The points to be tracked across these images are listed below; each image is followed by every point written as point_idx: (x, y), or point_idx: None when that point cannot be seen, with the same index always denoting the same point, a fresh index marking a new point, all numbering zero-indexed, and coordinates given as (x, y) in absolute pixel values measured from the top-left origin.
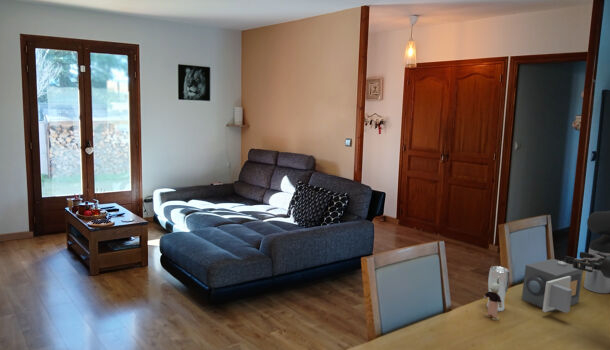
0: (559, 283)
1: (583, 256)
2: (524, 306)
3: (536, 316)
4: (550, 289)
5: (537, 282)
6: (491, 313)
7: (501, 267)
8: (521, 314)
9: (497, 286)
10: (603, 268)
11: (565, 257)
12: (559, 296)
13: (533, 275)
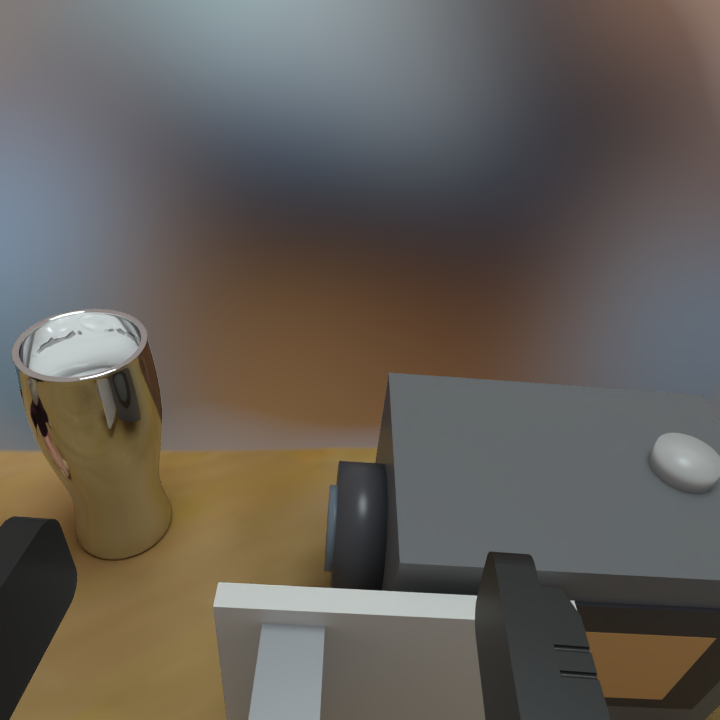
0: (391, 634)
1: (491, 654)
2: (286, 585)
3: (201, 706)
4: (255, 645)
5: (332, 519)
6: None
7: (141, 334)
8: (151, 638)
9: None
10: None
11: (7, 541)
12: None
13: (385, 456)
